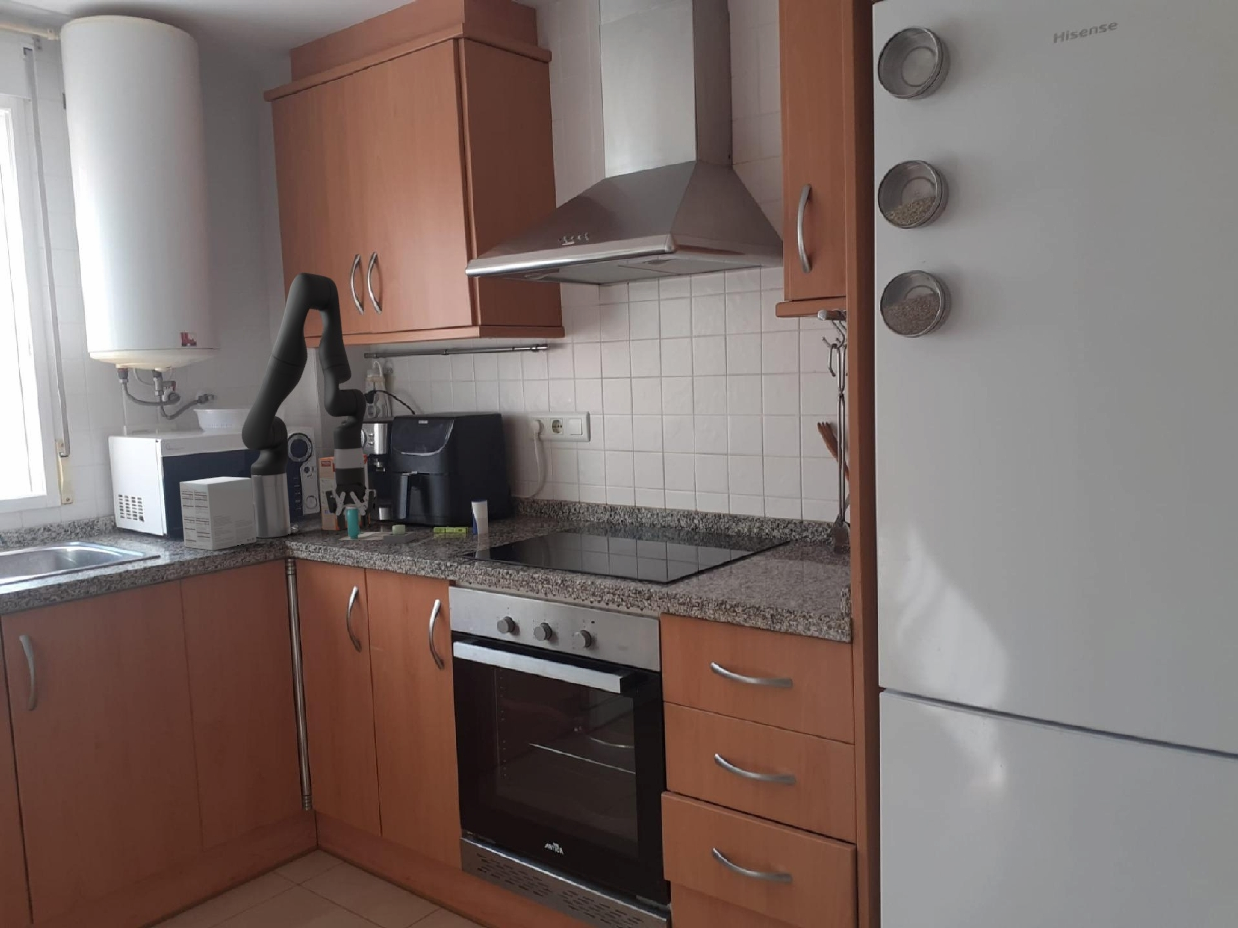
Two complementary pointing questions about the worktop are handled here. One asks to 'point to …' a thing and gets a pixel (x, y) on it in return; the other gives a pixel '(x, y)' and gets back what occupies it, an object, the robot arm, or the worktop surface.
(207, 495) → the supplement box
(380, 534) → the framed whiteboard
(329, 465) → the cracker box
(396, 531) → the button
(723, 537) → the worktop surface
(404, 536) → the button housing
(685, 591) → the worktop surface
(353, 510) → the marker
